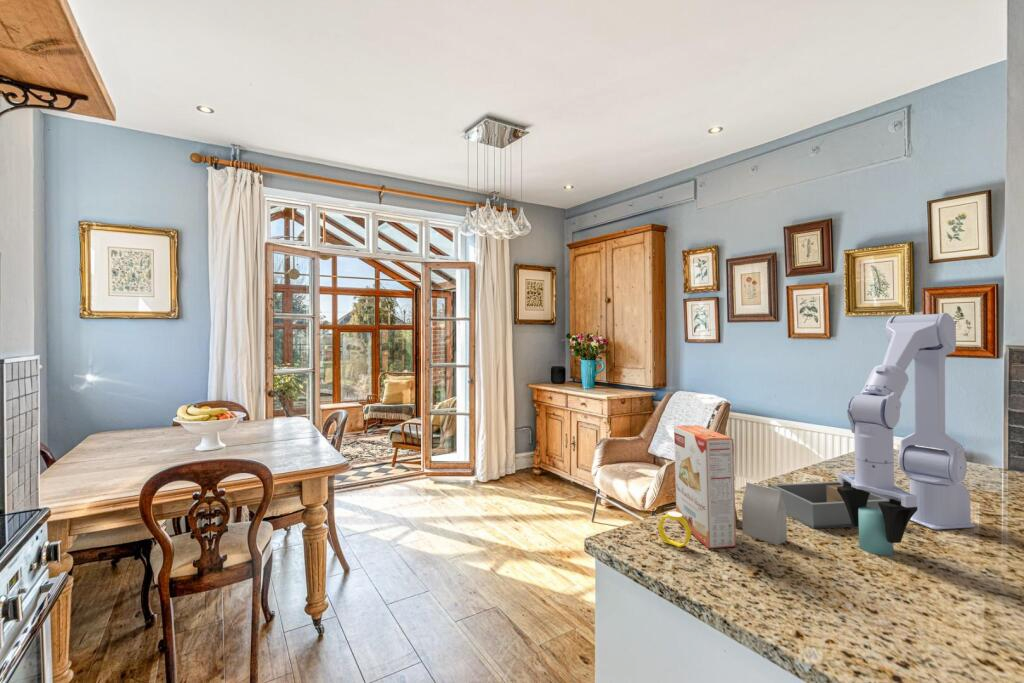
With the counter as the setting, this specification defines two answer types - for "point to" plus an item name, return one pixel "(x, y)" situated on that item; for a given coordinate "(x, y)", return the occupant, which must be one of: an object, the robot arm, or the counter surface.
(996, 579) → the counter surface
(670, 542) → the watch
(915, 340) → the robot arm
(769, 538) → the tea bag
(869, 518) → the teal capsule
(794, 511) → the tote
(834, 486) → the walnut cube
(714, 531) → the cracker box
